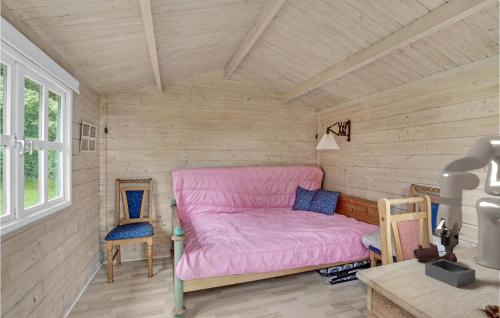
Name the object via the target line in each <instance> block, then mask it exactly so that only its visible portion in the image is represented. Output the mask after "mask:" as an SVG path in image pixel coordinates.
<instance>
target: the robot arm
mask: <svg viewBox="0 0 500 318" xmlns="http://www.w3.org/2000/svg"><path fill="white" fill-rule="evenodd" d="M485 167H487V173H486V177H485V181H484V187H483V188H484V193H485V194H487V195H489V196H492V197H481V198H478V199H477V200H476V203H475V211H476V215H477V256H475V257H473V259H472V260H473V262H475V263H476V264H477V265H480V266H483V267H485V268H490V269H497V270H500V198H496V197H500V135H496V136H495V135H491V136H483V137H480V138H478V139H477V140H476V141H475V143H474V144H473V145H472V147H470V150H469V151H468V152H467V153H466V154H465V155H463V156H460V157H458V158H456V159H454V160H452V161H450V162H449V163H448V162H447V164H446V165H445V166H444V167H443V168H442V169H441V170H440V172H439V173H438V176H437V182H438V184H439V205H438V209H437V214H436V227H437V228H436V229H437V230H438V232H439V235H440V245H441V246H443V245H444V246H447V247H449V246H450V237H449V233H450V230H452V229H453V227H454V226H453V225H454V224H455V223H457V222H458V228H457V229H458V231H457V233H458V234H457V235H454V238H456V239H457V245H456V246H458V245H459V239H460V238H459V237H460V232H461V229H462V228H463V212H462V211H463V210H462V208H463V207H462V206H463V191H472V190H475V189H477V188H478V187H479V186H480V182H481V181H480V178H479V176H478V175H477V174H476V173H474V172H473V171H476V170H479V169H483V168H485ZM444 227H446V229H445V228H444ZM444 230H446V231H447V232H445V231H444ZM444 246H443V247H444Z"/></svg>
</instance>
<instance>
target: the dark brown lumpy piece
mask: <svg viewBox="0 0 500 318" xmlns="http://www.w3.org/2000/svg"><path fill="white" fill-rule="evenodd" d="M428 241H429V247H423V245H422V244H418V245H417V248H415V249H413V255H414V258H415V260H416V259H418V261H417V262H423V261H432V260H433V261H436V260H441V259H445V260H448V261H450V262H453V263H457V262H458V258H457V256H456V253H455V252H454V251H453V254H451V255H448V253H446V252H445V254H444V255H442V256H441V255H440V254H439V253H440V252H439V247H438V245H437V244H436V243H434V242H433V241H431V240H428Z"/></svg>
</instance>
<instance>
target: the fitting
mask: <svg viewBox="0 0 500 318" xmlns="http://www.w3.org/2000/svg"><path fill="white" fill-rule="evenodd" d="M424 275H425V276H427V277H430V278H432V279H434V280H437V281H439V282H442V283H445V284H447V285H449V286H452V287H454V288H456V289H458V288H462V287H464V286H467V285H470V284H473V283H476V269H473V268H471V267H468V266H466V265H462V264H459V263H457V262H454V263H453V262H450V261H448V260H445V259H441V260H433V261H432V260H431V261H428V262H425V263H424Z"/></svg>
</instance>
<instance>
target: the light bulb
mask: <svg viewBox="0 0 500 318" xmlns="http://www.w3.org/2000/svg"><path fill="white" fill-rule="evenodd" d="M453 226H454V227H453V229H452V230H450V233H449V237H450V246H449V247H447V246H444V245H442V246H443V248H444V252H445V254H446V253H448V255H451V254H453V252H454V249H455V248H456V247H457V246H458V245H457V239H456V238H454V235H457V234H458V233H457V231H458V229H457V228H458V222H457V223H455V224H454V225H453ZM444 228H445V229H446V227H444ZM444 231H445V232H447V231H446V230H444Z"/></svg>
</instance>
